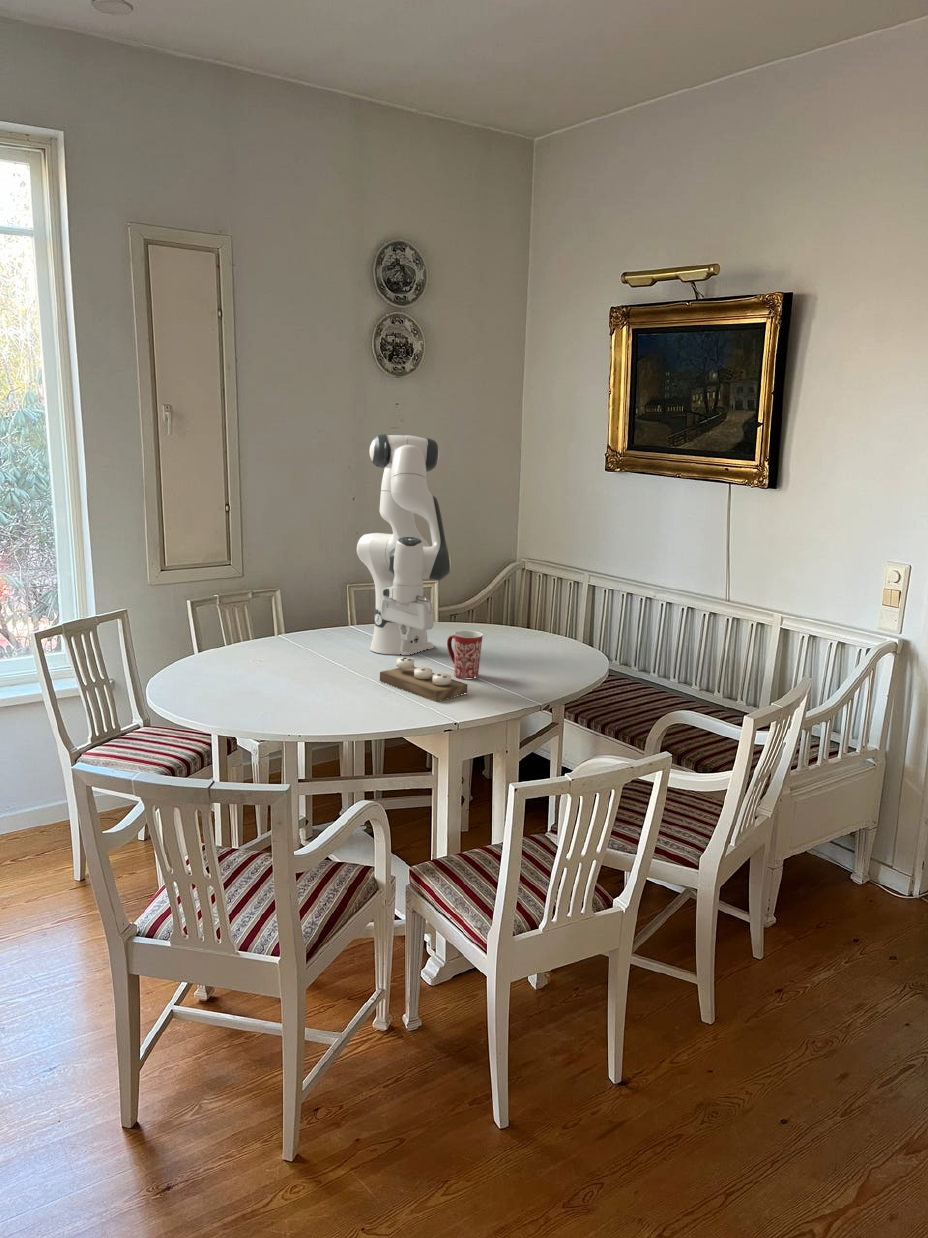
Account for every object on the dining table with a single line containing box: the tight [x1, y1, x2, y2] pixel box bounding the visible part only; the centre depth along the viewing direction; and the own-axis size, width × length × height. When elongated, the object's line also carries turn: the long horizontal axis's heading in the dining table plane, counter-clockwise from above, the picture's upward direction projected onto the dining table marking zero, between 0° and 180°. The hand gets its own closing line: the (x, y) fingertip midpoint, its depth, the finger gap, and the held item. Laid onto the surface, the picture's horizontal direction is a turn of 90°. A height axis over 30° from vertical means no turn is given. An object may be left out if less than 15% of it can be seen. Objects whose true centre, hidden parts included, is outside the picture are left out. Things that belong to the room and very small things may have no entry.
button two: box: [432, 673, 452, 685], centre depth 269 cm, size 5×5×2 cm
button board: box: [379, 666, 469, 703], centre depth 275 cm, size 12×25×3 cm, turn 44°
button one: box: [414, 667, 433, 679], centre depth 274 cm, size 5×5×2 cm
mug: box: [446, 629, 484, 679], centre depth 289 cm, size 13×9×14 cm
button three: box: [396, 656, 415, 668], centre depth 280 cm, size 5×5×2 cm
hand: (406, 639), depth 278 cm, fingers closed
